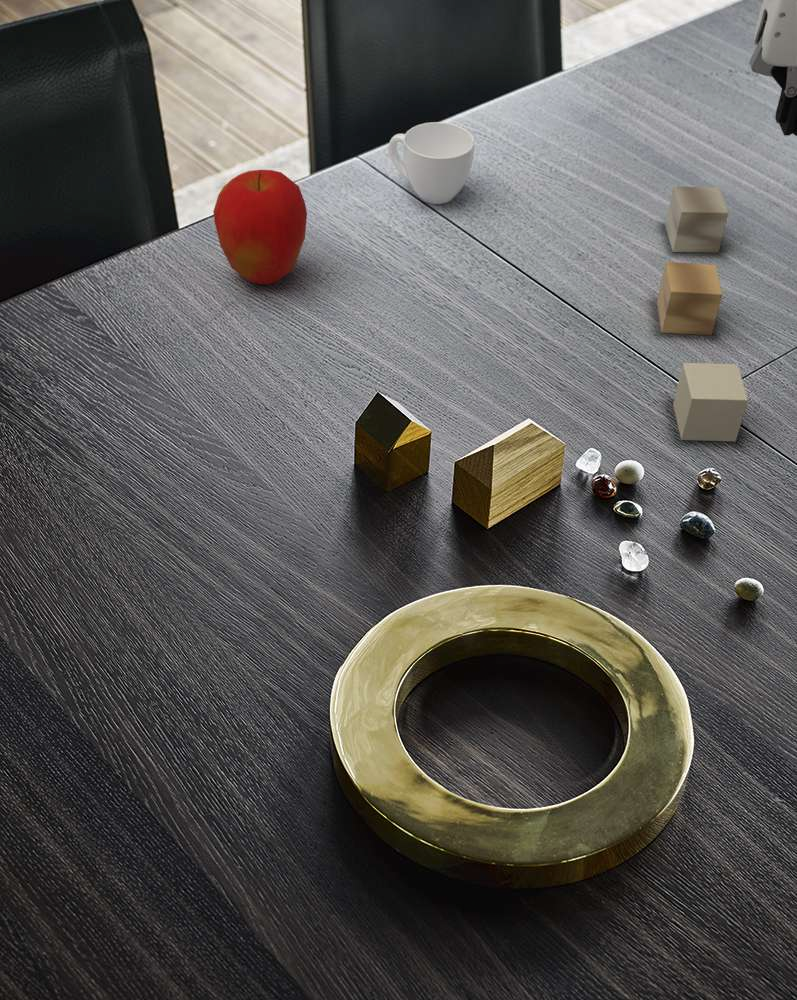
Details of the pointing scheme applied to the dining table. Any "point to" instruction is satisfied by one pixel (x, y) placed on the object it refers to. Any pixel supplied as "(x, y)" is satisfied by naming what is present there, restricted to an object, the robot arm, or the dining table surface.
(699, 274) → the maple block
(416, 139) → the cup
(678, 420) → the cream block
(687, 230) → the ash block
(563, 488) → the dining table surface
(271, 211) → the apple
